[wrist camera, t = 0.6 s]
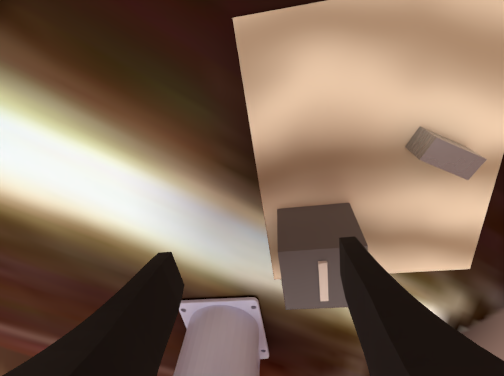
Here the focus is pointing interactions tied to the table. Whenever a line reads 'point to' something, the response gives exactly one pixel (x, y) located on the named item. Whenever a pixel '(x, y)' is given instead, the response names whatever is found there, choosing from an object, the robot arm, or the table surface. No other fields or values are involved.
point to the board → (377, 118)
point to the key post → (444, 153)
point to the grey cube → (314, 253)
